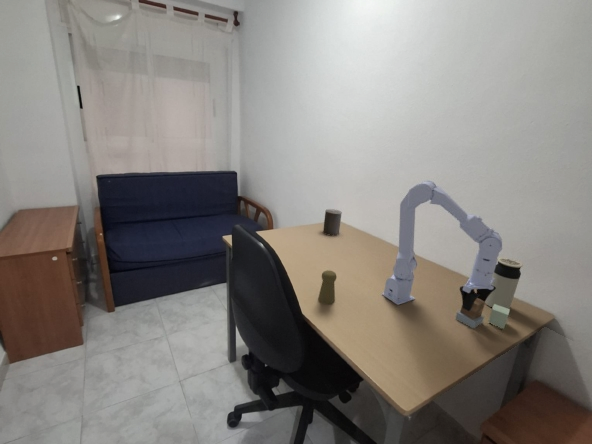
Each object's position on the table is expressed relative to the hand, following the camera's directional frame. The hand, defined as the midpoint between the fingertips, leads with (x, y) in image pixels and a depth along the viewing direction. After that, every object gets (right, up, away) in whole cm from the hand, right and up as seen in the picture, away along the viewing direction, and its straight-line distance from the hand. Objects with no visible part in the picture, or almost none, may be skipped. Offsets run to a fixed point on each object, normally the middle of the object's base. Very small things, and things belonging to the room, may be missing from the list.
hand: (472, 306), depth 97 cm
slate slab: (0, -6, +2) cm, 6 cm away
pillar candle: (-38, +21, +80) cm, 91 cm away
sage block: (+9, -6, +2) cm, 11 cm away
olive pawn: (-48, 0, +9) cm, 49 cm away
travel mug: (+16, -3, +13) cm, 21 cm away
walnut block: (0, -3, +1) cm, 3 cm away
